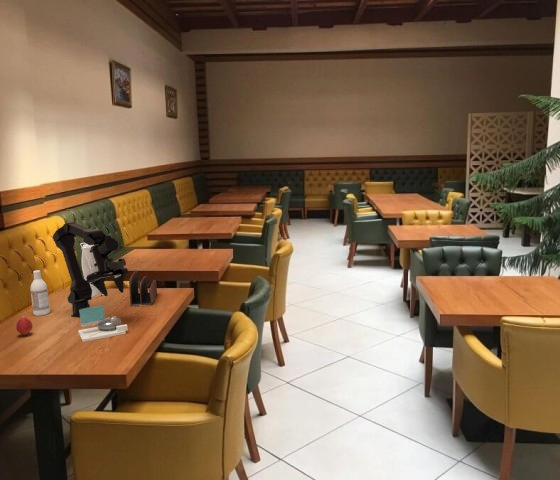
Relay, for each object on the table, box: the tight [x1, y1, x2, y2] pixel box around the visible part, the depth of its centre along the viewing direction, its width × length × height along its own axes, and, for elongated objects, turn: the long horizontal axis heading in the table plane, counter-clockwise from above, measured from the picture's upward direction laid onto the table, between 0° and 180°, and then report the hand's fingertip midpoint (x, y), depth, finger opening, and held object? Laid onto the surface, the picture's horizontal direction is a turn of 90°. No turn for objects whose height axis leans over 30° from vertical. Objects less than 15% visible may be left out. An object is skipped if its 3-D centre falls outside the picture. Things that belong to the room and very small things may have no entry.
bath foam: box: [30, 269, 51, 317], centre depth 233 cm, size 7×7×20 cm
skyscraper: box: [79, 242, 102, 297], centre depth 260 cm, size 8×8×28 cm
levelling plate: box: [77, 324, 129, 343], centre depth 205 cm, size 17×12×3 cm
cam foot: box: [79, 304, 122, 330], centre depth 205 cm, size 15×9×9 cm, turn 119°
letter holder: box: [128, 270, 158, 307], centre depth 249 cm, size 10×20×14 cm, turn 6°
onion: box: [15, 315, 33, 336], centre depth 205 cm, size 6×6×8 cm
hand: (114, 294), depth 211 cm, fingers open, 9 cm apart
